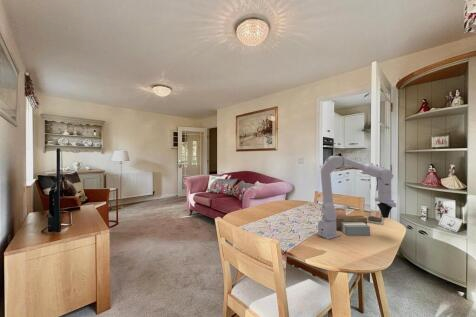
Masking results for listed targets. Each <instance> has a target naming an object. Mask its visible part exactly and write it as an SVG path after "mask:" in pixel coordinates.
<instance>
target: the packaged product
mask: <svg viewBox="0 0 476 317" xmlns="http://www.w3.org/2000/svg"><path fill="white" fill-rule="evenodd" d="M365 217H366V218H367V224H373V225H381V226H383V225H384V222H385V218H383V217H382V214H381V211H380V210H370V211H369V213H367V214H366V216H365Z"/></svg>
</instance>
